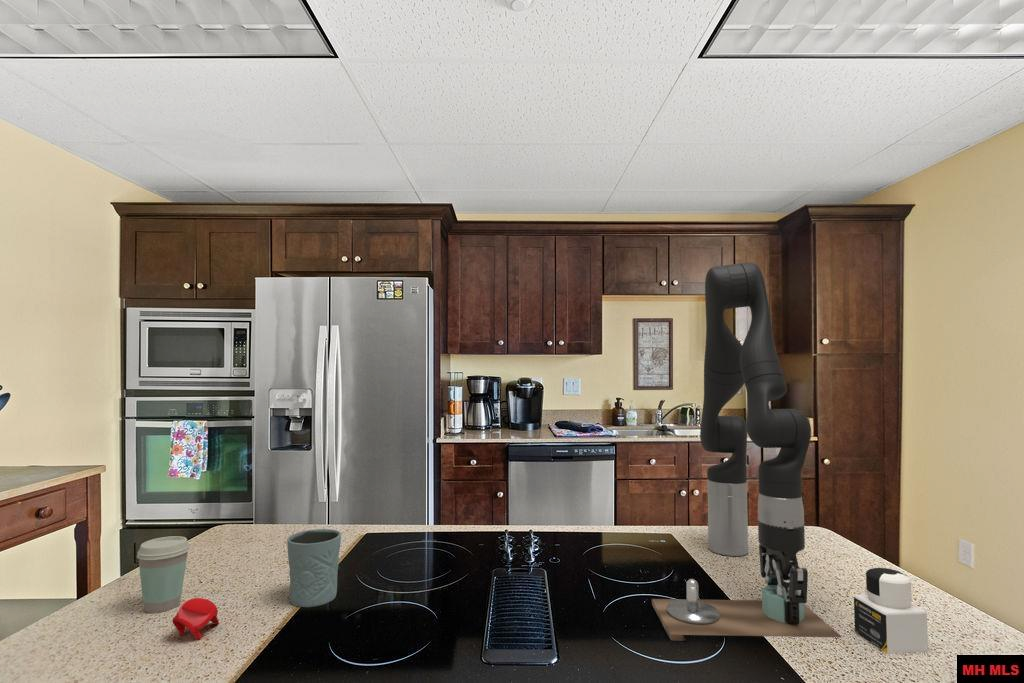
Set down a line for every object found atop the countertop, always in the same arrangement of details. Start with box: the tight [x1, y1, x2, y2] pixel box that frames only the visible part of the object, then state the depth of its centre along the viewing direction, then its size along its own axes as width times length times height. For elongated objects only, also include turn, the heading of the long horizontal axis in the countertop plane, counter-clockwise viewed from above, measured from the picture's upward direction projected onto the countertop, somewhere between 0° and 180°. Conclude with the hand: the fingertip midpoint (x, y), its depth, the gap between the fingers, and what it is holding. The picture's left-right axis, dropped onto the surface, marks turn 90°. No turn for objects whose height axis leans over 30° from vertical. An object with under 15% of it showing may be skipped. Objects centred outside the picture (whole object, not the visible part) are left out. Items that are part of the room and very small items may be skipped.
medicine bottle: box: [853, 567, 929, 654], centre depth 88 cm, size 7×7×12 cm
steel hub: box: [667, 578, 719, 625], centre depth 98 cm, size 9×9×6 cm
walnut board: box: [651, 598, 843, 642], centre depth 97 cm, size 14×28×1 cm, turn 88°
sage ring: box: [761, 585, 805, 623], centre depth 98 cm, size 6×6×4 cm
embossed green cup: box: [286, 528, 342, 608], centre depth 107 cm, size 10×10×12 cm
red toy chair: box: [171, 597, 220, 641], centre depth 93 cm, size 8×6×6 cm
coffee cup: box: [136, 535, 191, 614], centre depth 103 cm, size 8×8×12 cm
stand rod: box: [777, 585, 784, 596], centre depth 98 cm, size 2×2×6 cm
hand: (783, 614), depth 97 cm, fingers closed on sage ring, 6 cm apart
